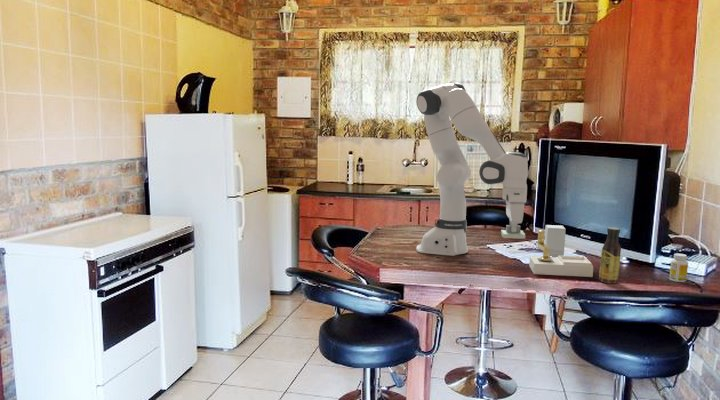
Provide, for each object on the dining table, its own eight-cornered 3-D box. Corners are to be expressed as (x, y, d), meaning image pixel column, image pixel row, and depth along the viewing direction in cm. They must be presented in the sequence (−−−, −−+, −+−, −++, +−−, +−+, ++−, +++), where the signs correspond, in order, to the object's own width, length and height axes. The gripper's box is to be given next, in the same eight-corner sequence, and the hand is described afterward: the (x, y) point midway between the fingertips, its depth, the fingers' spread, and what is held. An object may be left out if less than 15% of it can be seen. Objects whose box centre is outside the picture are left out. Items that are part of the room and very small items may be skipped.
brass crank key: (534, 255, 217) (535, 230, 215) (544, 255, 217) (545, 230, 215) (542, 261, 207) (543, 235, 205) (552, 261, 207) (554, 235, 205)
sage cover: (503, 237, 205) (503, 227, 204) (501, 233, 213) (501, 223, 212) (525, 238, 204) (525, 228, 203) (522, 234, 212) (522, 224, 211)
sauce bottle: (595, 279, 199) (599, 226, 196) (611, 279, 200) (616, 225, 196) (604, 284, 193) (609, 229, 190) (621, 284, 193) (626, 229, 190)
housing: (533, 273, 205) (534, 261, 204) (529, 266, 216) (530, 253, 215) (592, 276, 202) (593, 263, 201) (584, 268, 213) (585, 256, 212)
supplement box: (564, 258, 229) (566, 228, 227) (545, 257, 230) (547, 227, 228) (561, 254, 236) (563, 225, 234) (543, 252, 237) (545, 224, 235)
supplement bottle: (668, 280, 199) (670, 254, 197) (670, 277, 203) (673, 252, 201) (685, 283, 195) (687, 257, 194) (687, 280, 200) (689, 254, 198)
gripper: (503, 191, 217) (501, 225, 219) (509, 198, 197) (507, 236, 199) (519, 191, 216) (517, 225, 218) (527, 198, 196) (525, 236, 198)
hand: (513, 230), depth 208 cm, fingers closed on sage cover, 2 cm apart
